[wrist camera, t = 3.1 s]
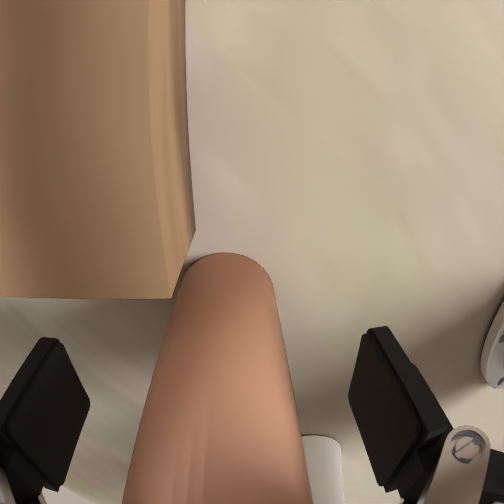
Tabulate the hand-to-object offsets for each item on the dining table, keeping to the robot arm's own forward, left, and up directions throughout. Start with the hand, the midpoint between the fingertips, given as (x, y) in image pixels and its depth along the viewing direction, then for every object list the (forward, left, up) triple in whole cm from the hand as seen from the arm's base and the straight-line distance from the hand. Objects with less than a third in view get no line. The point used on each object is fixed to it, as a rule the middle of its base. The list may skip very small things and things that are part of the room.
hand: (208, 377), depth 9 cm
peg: (0, 0, -5) cm, 5 cm away
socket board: (+10, -9, -5) cm, 14 cm away
